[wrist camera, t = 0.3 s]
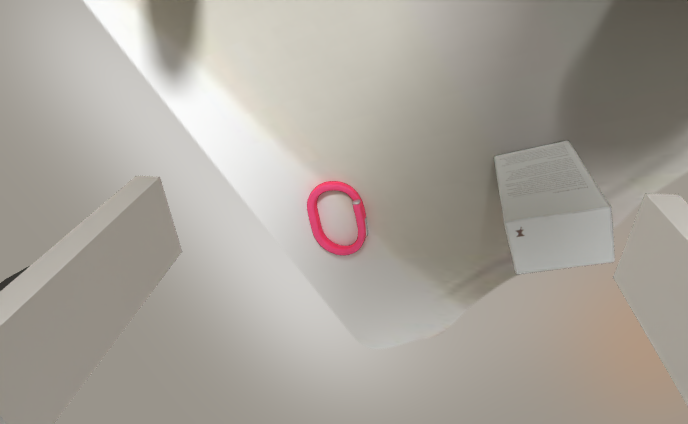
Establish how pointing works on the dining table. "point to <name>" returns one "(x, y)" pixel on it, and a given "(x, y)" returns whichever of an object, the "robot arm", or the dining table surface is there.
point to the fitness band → (316, 223)
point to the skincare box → (553, 210)
